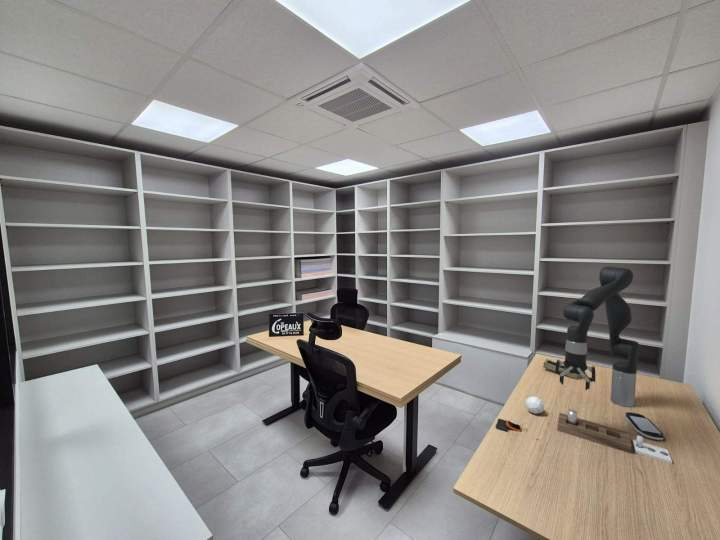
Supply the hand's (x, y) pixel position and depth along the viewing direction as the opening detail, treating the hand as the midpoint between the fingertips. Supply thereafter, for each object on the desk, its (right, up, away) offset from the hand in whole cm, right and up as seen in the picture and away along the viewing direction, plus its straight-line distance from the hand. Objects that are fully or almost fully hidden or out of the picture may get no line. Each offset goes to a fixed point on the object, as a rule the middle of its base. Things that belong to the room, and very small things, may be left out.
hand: (574, 386), depth 130 cm
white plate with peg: (+20, -21, -14) cm, 32 cm away
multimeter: (-23, -20, +2) cm, 31 cm away
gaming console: (+32, -20, +2) cm, 38 cm away
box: (+34, -15, +57) cm, 68 cm away
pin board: (+6, -20, -3) cm, 21 cm away
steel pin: (0, -19, +2) cm, 19 cm away
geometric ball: (-9, -19, +15) cm, 25 cm away
